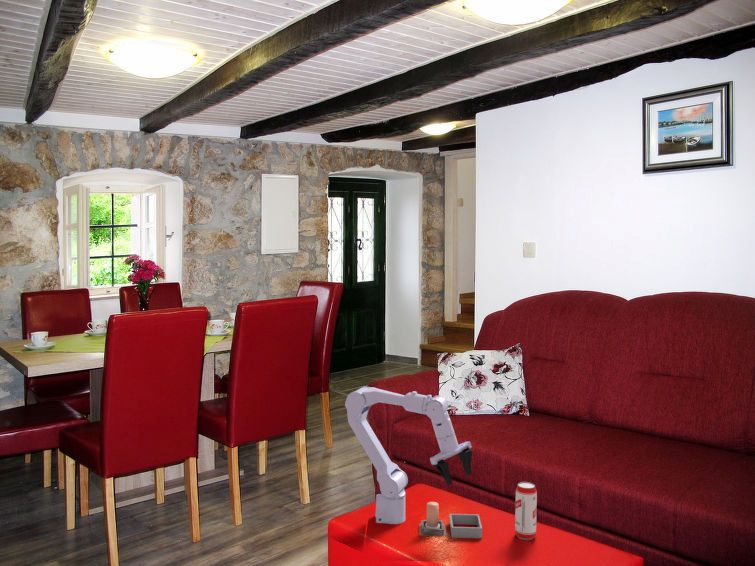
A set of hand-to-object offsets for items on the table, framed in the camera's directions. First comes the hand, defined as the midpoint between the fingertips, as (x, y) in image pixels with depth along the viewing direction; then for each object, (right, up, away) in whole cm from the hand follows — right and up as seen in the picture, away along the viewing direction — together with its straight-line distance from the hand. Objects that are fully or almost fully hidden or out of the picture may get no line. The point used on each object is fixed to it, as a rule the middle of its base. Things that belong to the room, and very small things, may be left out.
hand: (459, 479), depth 203 cm
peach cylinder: (-8, -16, +1) cm, 18 cm away
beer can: (+20, -17, -1) cm, 26 cm away
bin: (+2, -17, +1) cm, 17 cm away
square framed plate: (-8, -17, +1) cm, 19 cm away
